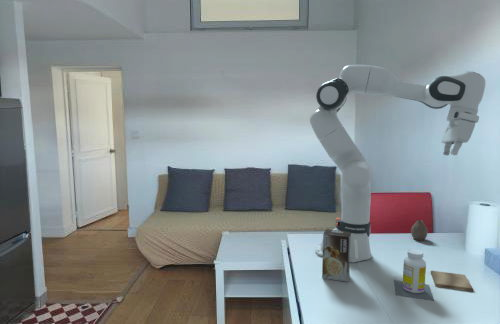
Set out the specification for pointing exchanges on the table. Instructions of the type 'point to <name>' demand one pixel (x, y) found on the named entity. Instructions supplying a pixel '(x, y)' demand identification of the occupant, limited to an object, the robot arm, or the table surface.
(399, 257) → the table surface
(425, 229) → the vase
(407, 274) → the supplement bottle
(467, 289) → the walnut board
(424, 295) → the slate mat
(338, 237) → the coffee box
